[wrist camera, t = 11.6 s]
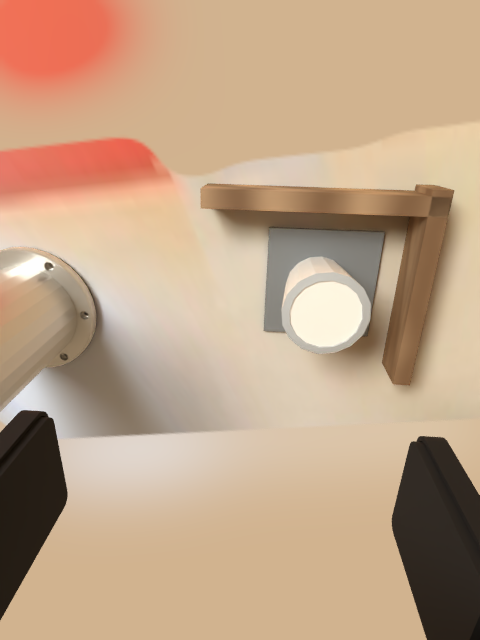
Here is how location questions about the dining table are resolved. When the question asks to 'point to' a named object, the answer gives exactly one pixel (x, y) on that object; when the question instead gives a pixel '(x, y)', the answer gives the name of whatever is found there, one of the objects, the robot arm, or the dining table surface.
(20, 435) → the robot arm
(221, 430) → the dining table surface
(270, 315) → the pad
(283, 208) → the wooden corner fence
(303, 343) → the white cup
